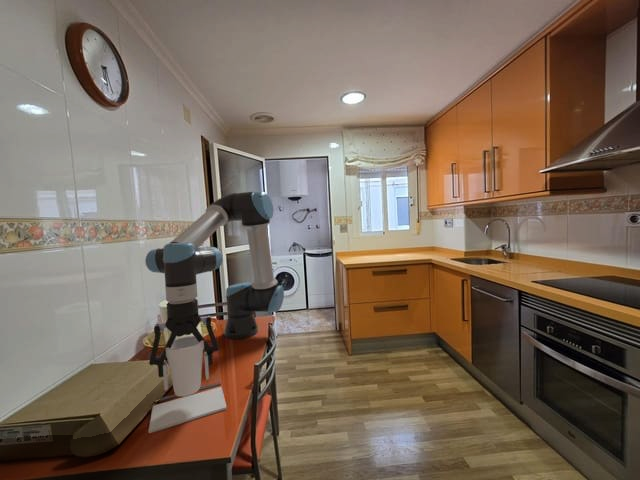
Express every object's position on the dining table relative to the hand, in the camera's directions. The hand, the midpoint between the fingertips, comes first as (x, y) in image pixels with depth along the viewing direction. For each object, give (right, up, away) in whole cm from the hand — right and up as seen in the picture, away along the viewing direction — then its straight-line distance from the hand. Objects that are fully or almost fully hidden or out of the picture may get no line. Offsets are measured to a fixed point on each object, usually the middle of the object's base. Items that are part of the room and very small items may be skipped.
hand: (187, 382), depth 75 cm
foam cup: (0, -2, 0) cm, 2 cm away
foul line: (-3, -7, +8) cm, 11 cm away
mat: (0, -7, 0) cm, 7 cm away
